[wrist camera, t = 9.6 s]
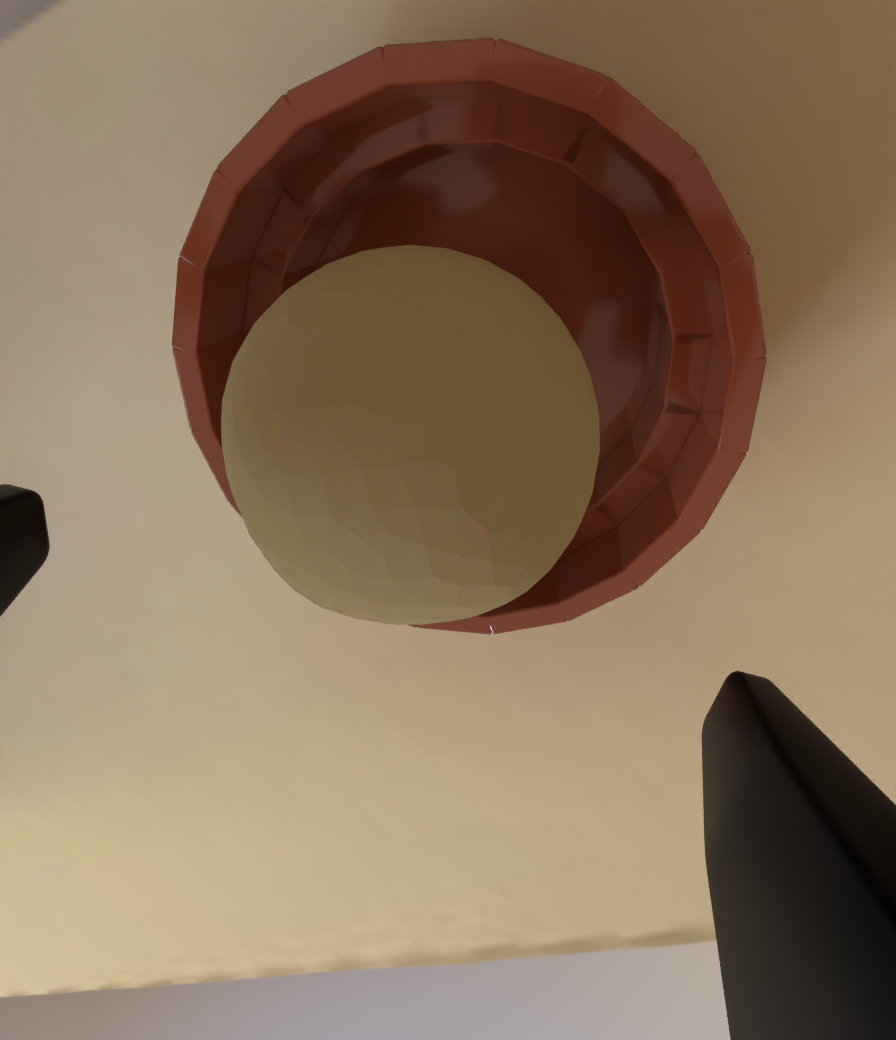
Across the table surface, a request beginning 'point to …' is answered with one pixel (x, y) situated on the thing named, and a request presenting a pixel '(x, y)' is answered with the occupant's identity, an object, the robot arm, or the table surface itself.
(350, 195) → the bowl
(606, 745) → the table surface
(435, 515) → the light bulb
